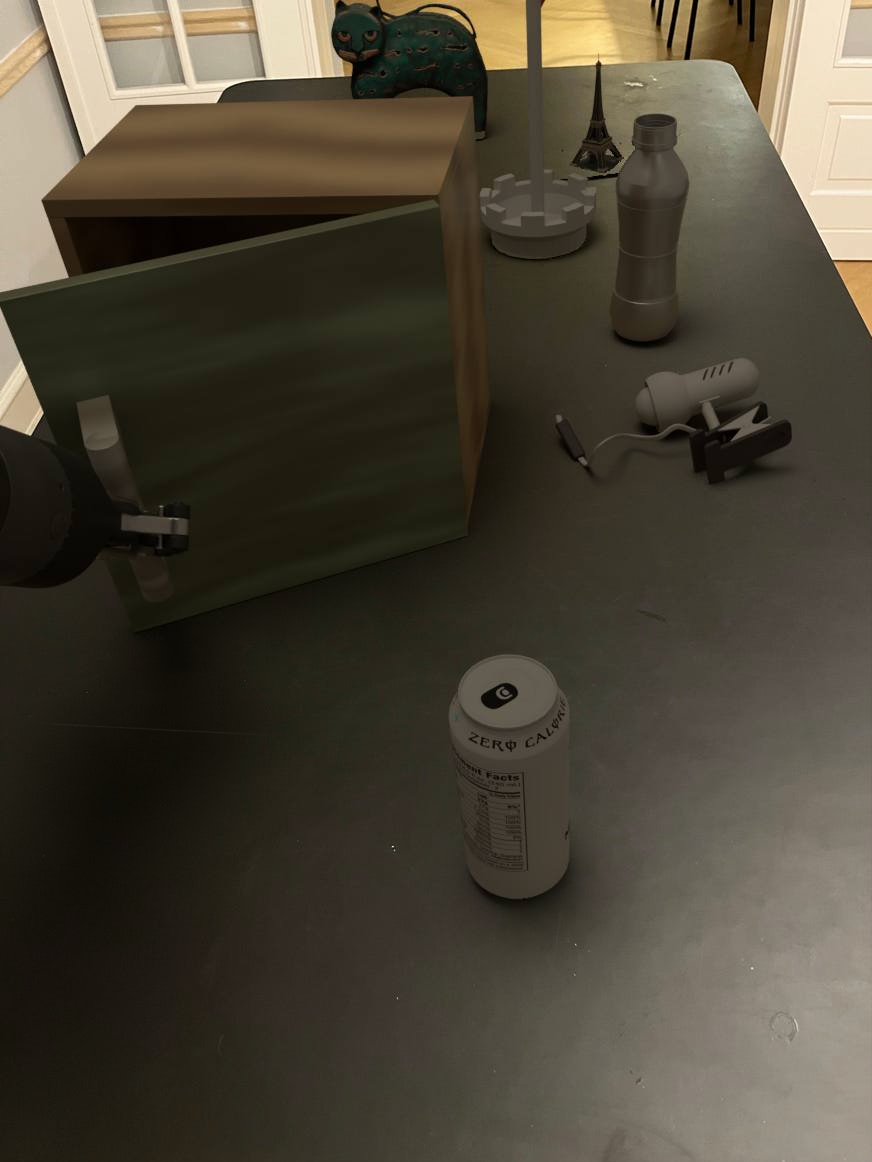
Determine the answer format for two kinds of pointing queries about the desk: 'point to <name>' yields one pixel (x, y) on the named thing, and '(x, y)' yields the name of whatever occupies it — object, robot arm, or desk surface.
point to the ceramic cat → (410, 54)
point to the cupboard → (287, 197)
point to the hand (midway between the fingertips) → (144, 539)
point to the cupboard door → (260, 402)
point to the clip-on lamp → (702, 392)
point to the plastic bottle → (649, 231)
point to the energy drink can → (512, 774)
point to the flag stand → (537, 182)
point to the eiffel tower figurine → (597, 138)
